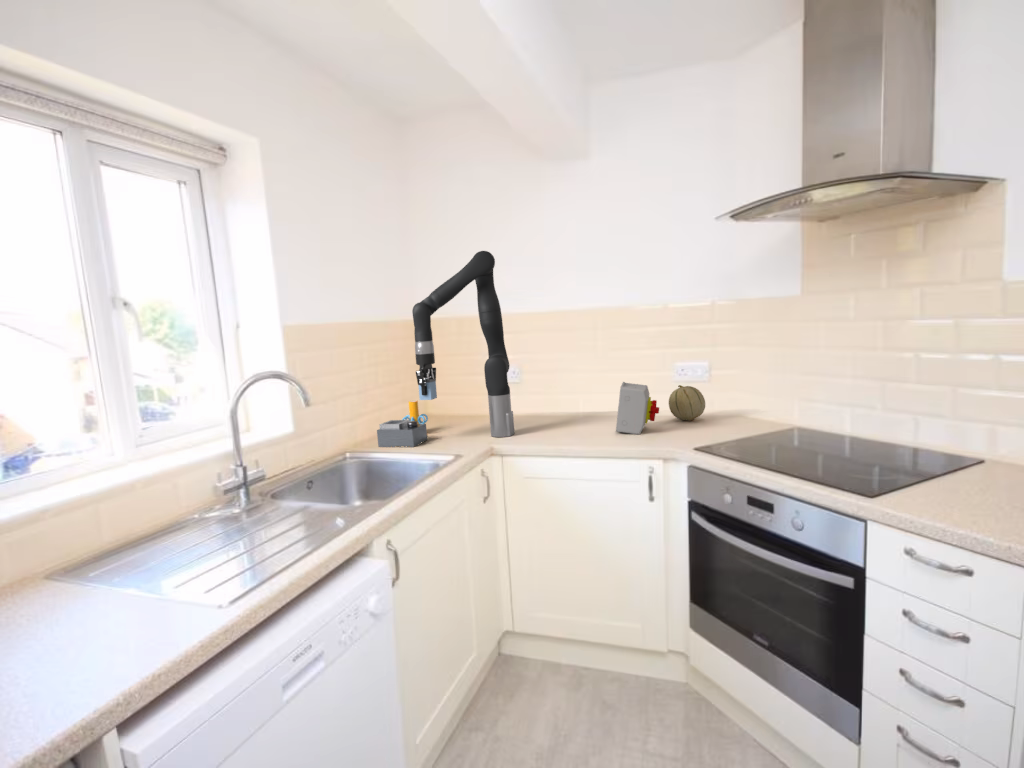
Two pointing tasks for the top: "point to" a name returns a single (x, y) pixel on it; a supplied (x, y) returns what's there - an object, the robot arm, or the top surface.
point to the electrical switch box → (635, 408)
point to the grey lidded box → (429, 390)
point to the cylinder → (415, 413)
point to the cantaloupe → (686, 403)
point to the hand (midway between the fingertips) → (428, 394)
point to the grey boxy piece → (401, 433)
